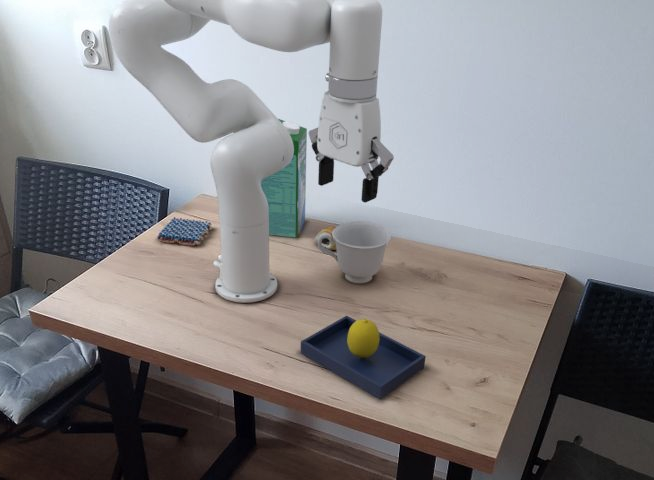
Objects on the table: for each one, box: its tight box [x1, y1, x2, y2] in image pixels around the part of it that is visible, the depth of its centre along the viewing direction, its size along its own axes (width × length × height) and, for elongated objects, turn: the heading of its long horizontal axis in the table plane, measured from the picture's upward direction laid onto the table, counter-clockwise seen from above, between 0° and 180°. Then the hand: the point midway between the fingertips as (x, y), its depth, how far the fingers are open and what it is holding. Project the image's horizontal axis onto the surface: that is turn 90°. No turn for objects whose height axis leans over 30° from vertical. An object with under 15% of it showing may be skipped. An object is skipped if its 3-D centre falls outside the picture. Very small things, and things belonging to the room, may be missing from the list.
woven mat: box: [156, 216, 213, 246], centre depth 162 cm, size 10×11×2 cm
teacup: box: [316, 220, 392, 284], centre depth 145 cm, size 12×15×10 cm
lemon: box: [347, 318, 380, 358], centre depth 121 cm, size 6×6×8 cm
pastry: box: [314, 226, 337, 251], centre depth 160 cm, size 9×7×4 cm
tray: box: [300, 315, 427, 400], centre depth 123 cm, size 18×12×3 cm
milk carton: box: [261, 118, 308, 239], centre depth 160 cm, size 9×9×25 cm
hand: (346, 191), depth 119 cm, fingers open, 9 cm apart
